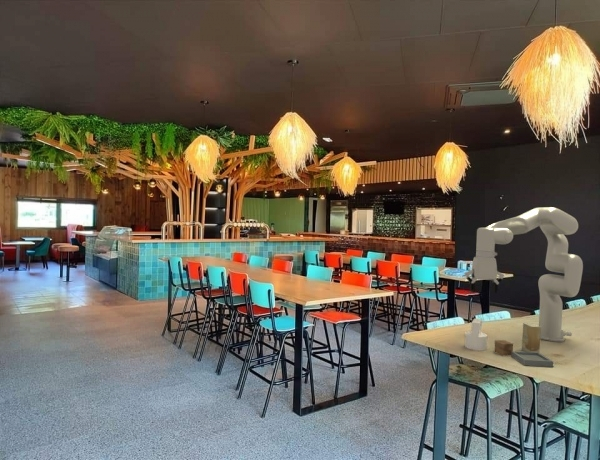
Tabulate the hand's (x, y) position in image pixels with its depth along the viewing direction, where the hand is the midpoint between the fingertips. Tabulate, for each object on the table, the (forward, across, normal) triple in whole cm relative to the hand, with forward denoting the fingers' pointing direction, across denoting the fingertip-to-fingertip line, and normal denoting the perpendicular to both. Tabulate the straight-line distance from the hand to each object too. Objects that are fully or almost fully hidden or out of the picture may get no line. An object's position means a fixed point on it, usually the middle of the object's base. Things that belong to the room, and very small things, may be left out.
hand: (483, 292), depth 182 cm
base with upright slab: (+24, +4, +4) cm, 25 cm away
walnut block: (+24, -5, +11) cm, 27 cm away
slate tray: (+24, -12, +20) cm, 34 cm away
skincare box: (+24, -18, +8) cm, 31 cm away
